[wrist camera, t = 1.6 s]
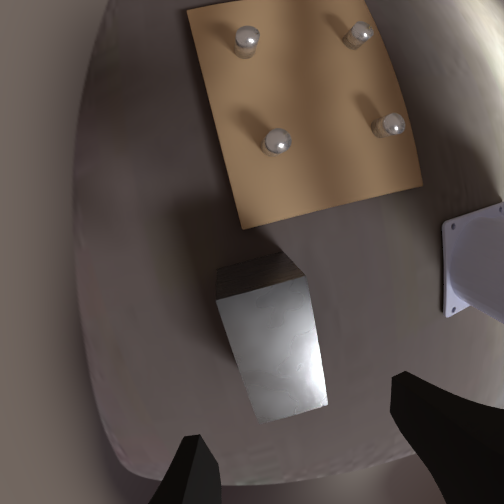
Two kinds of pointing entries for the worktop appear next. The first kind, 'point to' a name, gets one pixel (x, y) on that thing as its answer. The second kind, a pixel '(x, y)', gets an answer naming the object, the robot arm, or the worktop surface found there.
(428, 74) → the worktop surface
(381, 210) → the worktop surface
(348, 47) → the pin tray
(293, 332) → the plate
